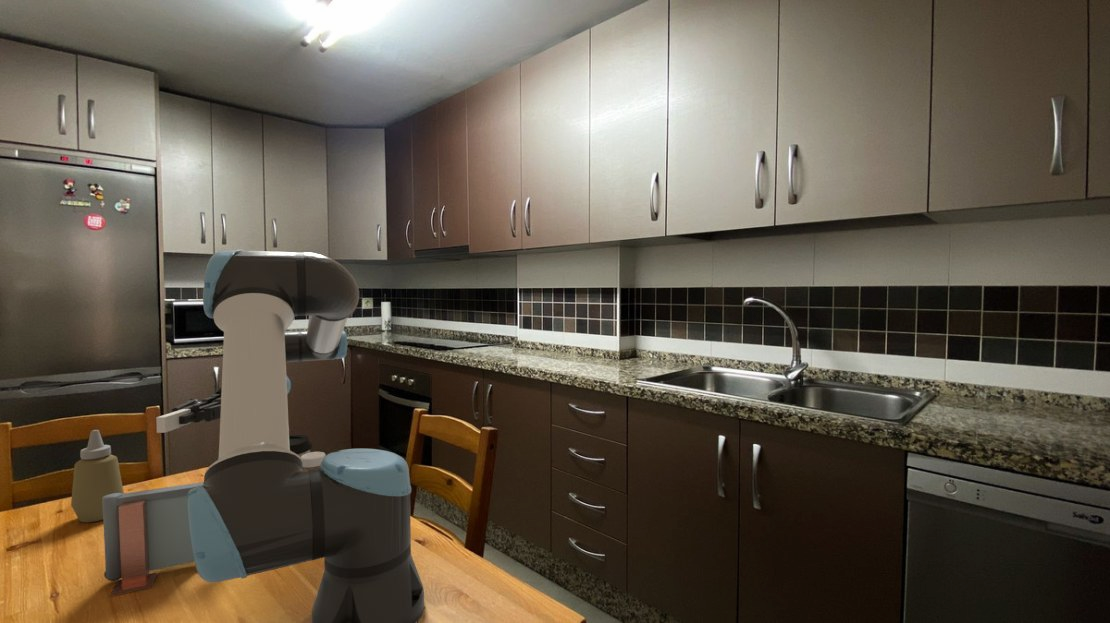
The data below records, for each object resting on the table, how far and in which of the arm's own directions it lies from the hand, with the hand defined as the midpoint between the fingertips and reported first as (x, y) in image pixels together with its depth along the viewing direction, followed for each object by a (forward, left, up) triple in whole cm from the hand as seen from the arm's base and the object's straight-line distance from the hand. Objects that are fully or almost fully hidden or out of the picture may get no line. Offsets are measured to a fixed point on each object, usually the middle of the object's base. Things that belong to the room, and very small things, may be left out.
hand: (160, 425), depth 89 cm
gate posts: (-9, -2, -23) cm, 25 cm away
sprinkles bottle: (-4, -24, -23) cm, 33 cm away
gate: (-7, 0, -23) cm, 24 cm away
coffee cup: (+4, -21, -23) cm, 31 cm away
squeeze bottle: (+27, +9, -23) cm, 37 cm away
